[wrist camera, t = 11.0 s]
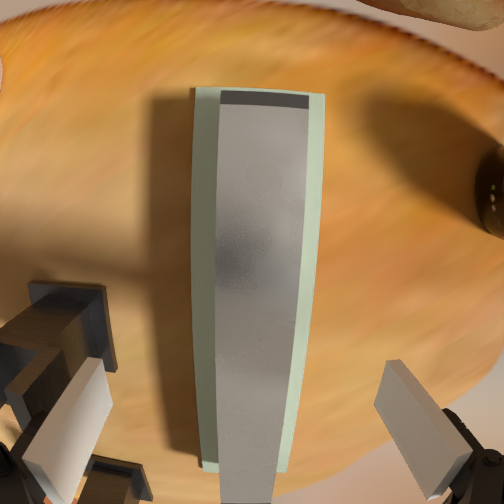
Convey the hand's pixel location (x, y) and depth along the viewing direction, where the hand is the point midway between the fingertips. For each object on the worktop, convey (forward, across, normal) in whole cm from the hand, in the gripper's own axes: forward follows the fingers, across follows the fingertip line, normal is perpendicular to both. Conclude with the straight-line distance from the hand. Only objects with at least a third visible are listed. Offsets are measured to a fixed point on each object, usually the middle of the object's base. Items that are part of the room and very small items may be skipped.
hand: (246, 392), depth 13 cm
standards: (+6, -12, -9) cm, 16 cm away
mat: (+6, 0, 0) cm, 6 cm away
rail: (+6, 0, 0) cm, 6 cm away
